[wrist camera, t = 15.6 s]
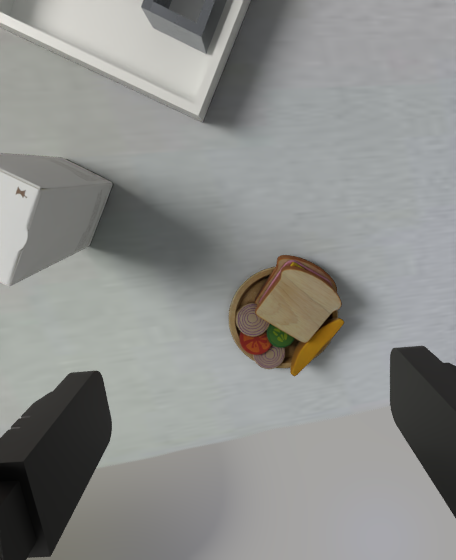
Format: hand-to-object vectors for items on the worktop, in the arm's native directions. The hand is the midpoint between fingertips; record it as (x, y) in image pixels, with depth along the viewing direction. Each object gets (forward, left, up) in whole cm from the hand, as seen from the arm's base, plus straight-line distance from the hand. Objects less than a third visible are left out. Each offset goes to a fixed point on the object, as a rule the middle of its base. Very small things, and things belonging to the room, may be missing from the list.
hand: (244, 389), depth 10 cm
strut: (+7, -24, -31) cm, 40 cm away
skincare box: (+18, -5, -32) cm, 37 cm away
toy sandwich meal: (-4, +9, -33) cm, 34 cm away
